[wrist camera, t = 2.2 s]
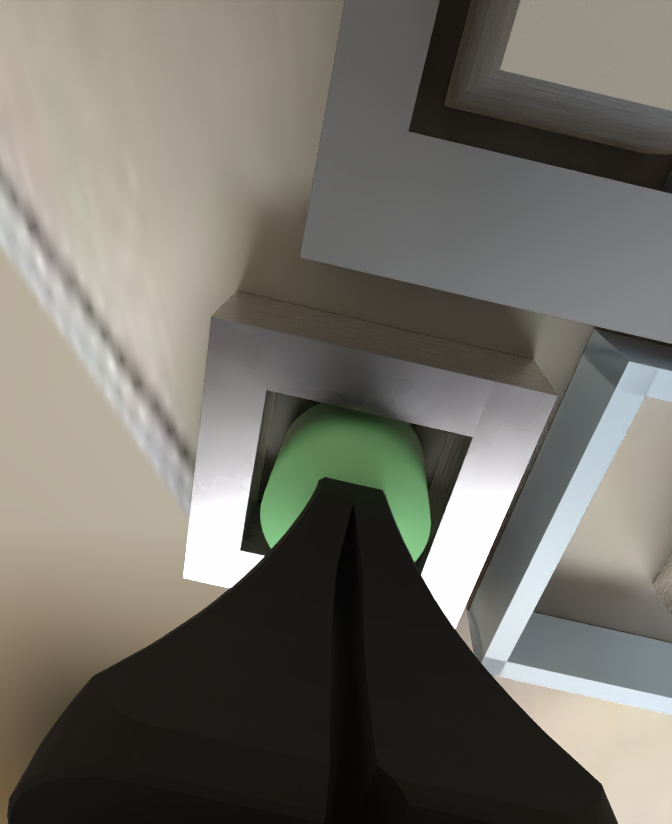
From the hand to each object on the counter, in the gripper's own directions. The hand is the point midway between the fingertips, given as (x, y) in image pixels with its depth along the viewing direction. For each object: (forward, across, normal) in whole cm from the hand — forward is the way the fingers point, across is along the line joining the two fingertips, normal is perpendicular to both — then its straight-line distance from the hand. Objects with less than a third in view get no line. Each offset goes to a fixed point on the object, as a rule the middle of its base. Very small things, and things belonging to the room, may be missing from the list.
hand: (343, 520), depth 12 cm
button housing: (+3, 0, 0) cm, 3 cm away
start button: (+2, 0, 0) cm, 2 cm away
